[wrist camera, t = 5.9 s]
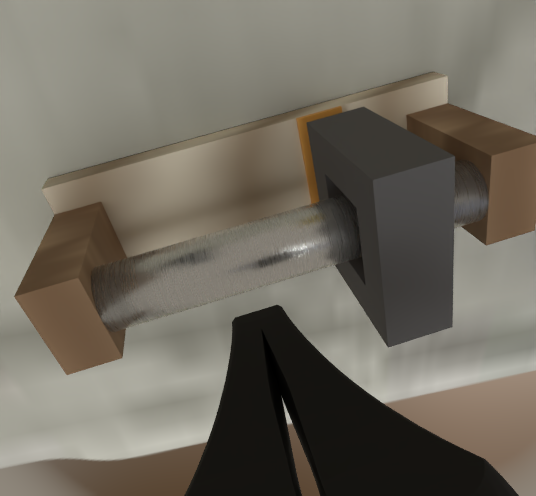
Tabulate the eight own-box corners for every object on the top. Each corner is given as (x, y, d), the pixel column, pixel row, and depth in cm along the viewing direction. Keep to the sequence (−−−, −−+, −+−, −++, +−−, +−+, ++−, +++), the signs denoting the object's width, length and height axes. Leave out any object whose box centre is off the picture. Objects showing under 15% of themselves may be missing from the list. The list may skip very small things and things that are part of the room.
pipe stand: (433, 71, 20) (553, 104, 14) (434, 188, 23) (532, 257, 17) (47, 178, 19) (-8, 266, 13) (104, 286, 22) (81, 398, 16)
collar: (363, 106, 17) (455, 156, 12) (376, 240, 21) (452, 326, 15) (306, 122, 17) (372, 180, 12) (328, 255, 21) (387, 347, 15)
